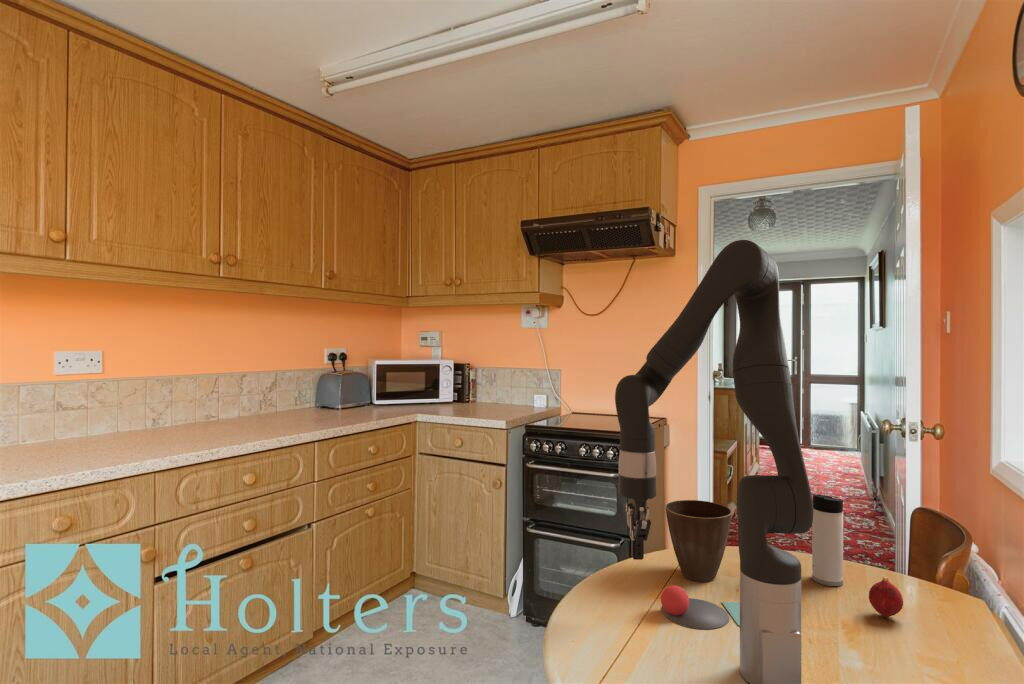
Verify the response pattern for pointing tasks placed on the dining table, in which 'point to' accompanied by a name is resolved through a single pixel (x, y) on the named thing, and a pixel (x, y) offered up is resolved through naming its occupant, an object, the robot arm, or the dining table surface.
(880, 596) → the onion
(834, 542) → the travel mug
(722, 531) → the plant pot
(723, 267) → the robot arm
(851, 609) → the dining table surface
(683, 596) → the ball
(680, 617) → the disc
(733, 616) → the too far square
